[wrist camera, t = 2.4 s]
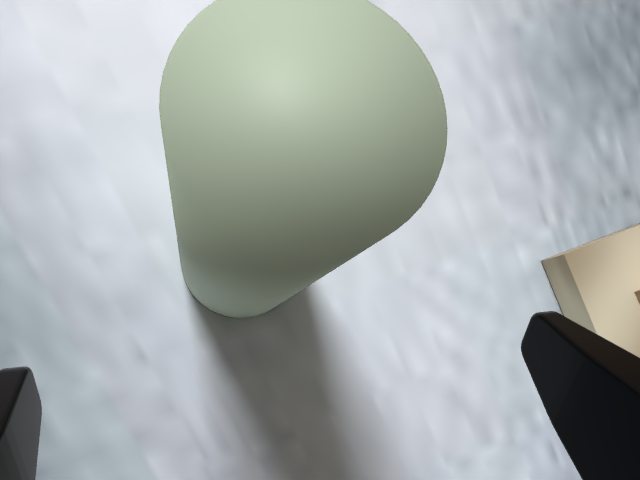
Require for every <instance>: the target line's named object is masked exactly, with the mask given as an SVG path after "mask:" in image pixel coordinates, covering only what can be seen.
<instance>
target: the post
mask: <svg viewBox="0 0 640 480" xmlns="http://www.w3.org/2000/svg"><path fill="white" fill-rule="evenodd" d="M159 111H160V120H161V129H162V136H163V143H164V150H165V157H166V164H167V171H168V178H169V185H170V192H171V199H172V206H173V213H174V220H175V227H176V234H177V241H178V248H179V255H180V262H181V269H182V273H183V277H184V280H185V282H186V285H187V286H188V288H189V290H190V292H191V293H192V294H193V295H194V297H195V298H196V299H197V300H198V301H199V302H200V303H201V304H202V305H204V306H205V307H206V308H208V309H210V310H211V311H213V312H215V313H218V314H220V315H224V316H227V317H234V318H247V317H254V316H257V315H261V314H263V313H265V312H268V311H269V310H271V309H273V308H274V307H276V306H277V305H279V304H281V303H282V302H284V301H285V300H287V299H288V298H290V297H292V296H293V295H295V294H296V293H298V292H299V291H301V290H303V289H304V288H306V287H307V286H309V285H311V284H312V283H314V282H315V281H317V280H318V279H320V278H322V277H323V276H325V275H326V274H328V273H329V272H331V271H333V270H334V269H336V268H337V267H339V266H340V265H342V264H344V263H345V262H347V261H348V260H350V259H351V258H353V257H355V256H356V255H358V254H359V253H361V252H362V251H364V250H366V249H367V248H369V247H370V246H372V245H373V244H375V243H377V242H378V241H380V240H381V239H383V238H384V237H386V236H388V235H389V234H391V233H392V232H394V231H395V230H397V229H398V228H399V227H400V226H402V225H403V224H404V223H405V222H407V221H408V220H409V219H410V218H411V217H412V216H413V215H414V214H415V213H416V211H417V210H418V209H419V208H420V207H421V206H422V204H423V203H424V202H425V200H426V199H427V197H428V196H429V194H430V193H431V191H432V189H433V187H434V185H435V183H436V181H437V179H438V176H439V173H440V170H441V167H442V164H443V161H444V156H445V151H446V145H447V117H446V109H445V104H444V99H443V94H442V91H441V88H440V85H439V82H438V80H437V77H436V75H435V73H434V71H433V69H432V67H431V64H430V62H429V61H428V59H427V58H426V56H425V54H424V53H423V51H422V50H421V48H420V47H419V46H418V44H417V43H416V42H415V41H414V39H413V38H412V37H411V35H410V34H409V33H408V32H407V31H406V30H405V29H404V28H403V27H402V26H401V25H400V24H399V23H398V22H397V21H396V20H394V19H393V18H392V17H391V16H389V15H388V14H387V13H386V12H384V11H383V10H382V9H380V8H379V7H377V6H375V5H374V4H372V3H371V2H369V1H368V0H216V1H214V2H213V3H212V4H210V5H209V6H208V7H206V8H205V9H204V10H202V11H201V12H200V13H199V14H198V15H197V16H196V17H195V18H194V19H193V20H192V21H191V22H190V23H189V24H188V25H187V27H186V28H185V29H184V31H183V32H182V33H181V35H180V36H179V38H178V39H177V41H176V43H175V45H174V47H173V48H172V50H171V52H170V54H169V57H168V60H167V63H166V65H165V68H164V71H163V76H162V82H161V87H160V103H159Z"/></svg>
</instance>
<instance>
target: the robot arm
mask: <svg viewBox="0 0 640 480" xmlns="http://www.w3.org/2000/svg"><path fill="white" fill-rule="evenodd" d="M521 351H522V355H523V358H524V360H525V363H526V365H527V367H528V370H529V372H530V374H531V377H532V379H533V381H534V384H535V386H536V388H537V391H538V393H539V395H540V398H541V400H542V402H543V405H544V407H545V409H546V412H547V414H548V416H549V418H550V420H551V423H552V425H553V427H554V429H555V430H556V432H557V434H558V436H559V438H560V440H561V442H562V443H563V445H564V447H565V449H566V451H567V452H568V454H569V456H570V458H571V460H572V462H573V463H574V465H575V467H576V469H577V471H578V472H579V474H580V476H581V478H582V480H640V358H639V357H638V356H636V355H634V354H632V353H630V352H628V351H627V350H625V349H623V348H621V347H619V346H617V345H616V344H614V343H612V342H610V341H608V340H607V339H605V338H603V337H601V336H599V335H597V334H596V333H594V332H592V331H590V330H588V329H587V328H585V327H583V326H581V325H579V324H577V323H576V322H574V321H572V320H570V319H568V318H567V317H565V316H563V315H561V314H559V313H557V312H554V311H548V312H539V313H535V314H534V315H533V316H532V317H531V319H530V322H529V324H528V327H527V330H526V332H525V335H524V337H523V340H522V343H521ZM41 416H42V407H41V400H40V396H39V393H38V390H37V386H36V383H35V379H34V376H33V373H32V371H31V369H30V368H29V367H15V368H6V369H2V370H0V480H35V476H36V466H37V456H38V446H39V436H40V426H41Z"/></svg>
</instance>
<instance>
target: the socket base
mask: <svg viewBox="0 0 640 480" xmlns="http://www.w3.org/2000/svg"><path fill="white" fill-rule="evenodd" d="M542 264H543V266H544V269H545V271H546V273H547V276H548V278H549V281H550V283H551V286H552V288H553V290H554V293H555V295H556V298H557V300H558V302H559V305H560V307H561V310H562V312H563V315H564V316H565V317H567V318H568V319H570V320H572V321H574V322H576V323H577V324H579V325H581V326H583V327H585V328H587V329H588V330H590V331H592V332H594V333H596V334H597V335H599V336H601V337H603V338H605V339H607V340H608V341H610V342H612V343H614V344H616V345H617V346H619V347H621V348H623V349H625V350H627V351H628V352H630V353H632V354H634V355H636V356H638V357H639V358H640V223H639V224H637V225H634V226H632V227H629V228H626V229H624V230H621V231H618V232H616V233H613V234H610V235H608V236H605V237H603V238H600V239H597V240H595V241H592V242H589V243H587V244H584V245H582V246H579V247H576V248H574V249H571V250H568V251H566V252H563V253H560V254H558V255H555V256H553V257H550V258H547V259H545V260H542Z"/></svg>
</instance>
